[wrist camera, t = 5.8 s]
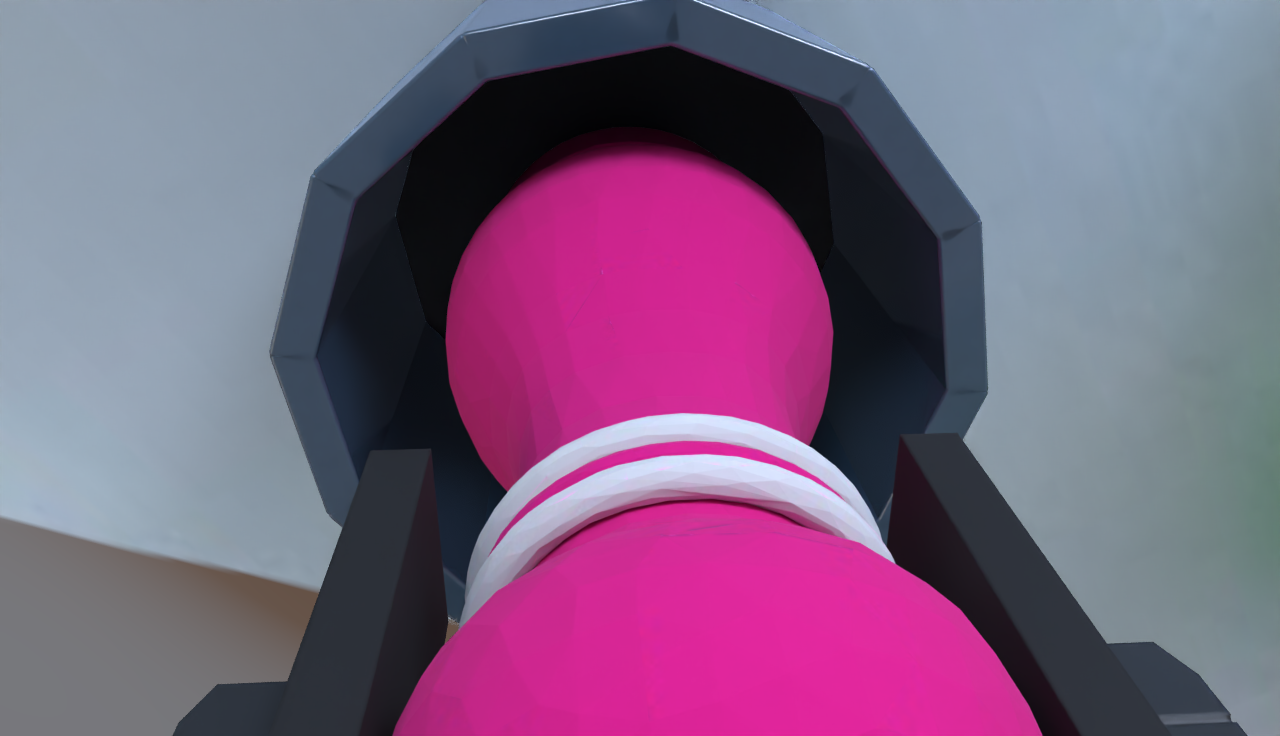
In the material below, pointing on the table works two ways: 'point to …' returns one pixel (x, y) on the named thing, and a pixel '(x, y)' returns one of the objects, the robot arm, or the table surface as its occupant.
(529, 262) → the pepper mill
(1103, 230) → the table surface
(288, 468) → the table surface
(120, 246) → the table surface
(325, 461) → the crock
